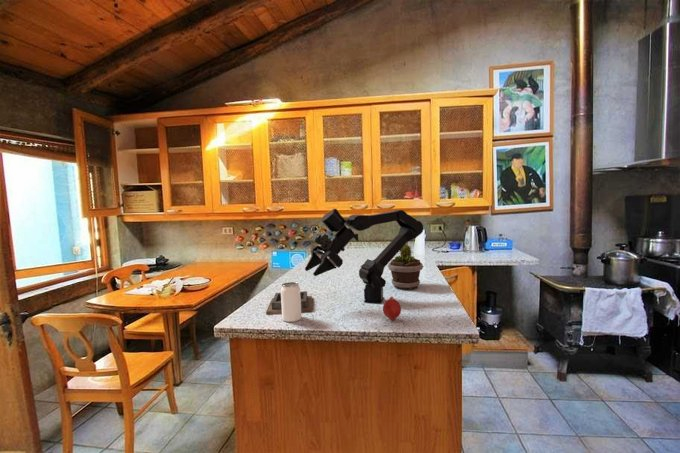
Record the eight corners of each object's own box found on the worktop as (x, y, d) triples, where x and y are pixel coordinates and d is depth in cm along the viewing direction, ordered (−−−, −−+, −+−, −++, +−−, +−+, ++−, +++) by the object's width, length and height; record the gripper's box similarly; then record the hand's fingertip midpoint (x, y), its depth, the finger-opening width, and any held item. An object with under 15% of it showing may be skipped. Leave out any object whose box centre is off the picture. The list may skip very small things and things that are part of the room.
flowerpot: (421, 292, 135) (420, 244, 134) (385, 290, 141) (383, 244, 139) (425, 283, 149) (424, 239, 147) (391, 281, 154) (390, 239, 152)
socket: (312, 298, 134) (311, 289, 134) (311, 311, 118) (311, 302, 118) (272, 300, 133) (271, 292, 132) (266, 314, 117) (265, 304, 117)
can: (298, 323, 108) (296, 287, 107) (279, 322, 109) (277, 286, 108) (304, 315, 114) (302, 281, 113) (286, 315, 115) (284, 281, 114)
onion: (381, 317, 109) (380, 294, 109) (398, 316, 110) (397, 293, 109) (385, 324, 104) (384, 299, 103) (403, 323, 104) (402, 298, 103)
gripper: (316, 223, 126) (287, 253, 122) (335, 227, 109) (302, 261, 105) (334, 244, 129) (307, 273, 126) (355, 250, 112) (324, 284, 108)
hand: (309, 272), depth 116 cm, fingers open, 9 cm apart
